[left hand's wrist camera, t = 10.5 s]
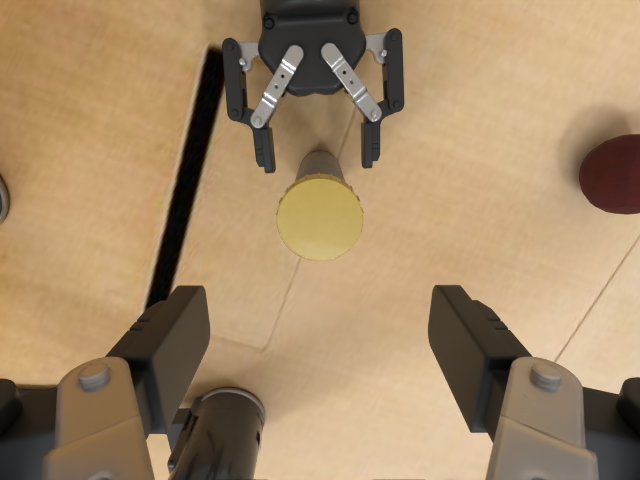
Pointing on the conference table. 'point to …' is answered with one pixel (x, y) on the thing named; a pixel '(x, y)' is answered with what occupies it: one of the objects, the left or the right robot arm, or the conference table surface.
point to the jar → (320, 165)
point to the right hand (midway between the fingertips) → (318, 169)
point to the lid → (319, 217)
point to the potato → (613, 175)
